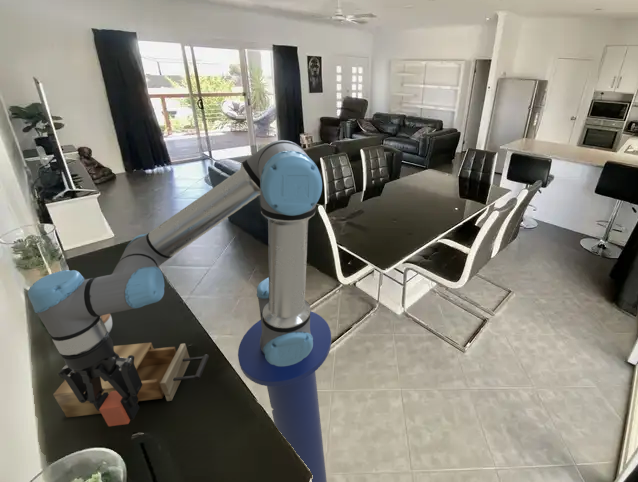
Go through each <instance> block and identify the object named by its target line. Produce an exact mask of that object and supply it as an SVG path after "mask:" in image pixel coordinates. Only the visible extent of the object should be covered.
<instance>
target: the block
mask: <svg viewBox="0 0 638 482" xmlns="http://www.w3.org/2000/svg"><path fill="white" fill-rule="evenodd" d="M121 399H122V396H121V395H120V394H119V393H118V392H117V391H111V392H110V393H109V395H108V397H107V398H106V400H105V401H104V403H103V404H102V406H101V407H100V409H99V410H100V412H101V416H102V418H103V419H104V422H105V423H106V425H107V427H115V426H122V425H123V426H125V425H129V423H130V422H131V420H130V419H129V417H128V415H127V413H126V411H125V409H124V407H123V405H122V404H121V402H120V401H121Z"/></svg>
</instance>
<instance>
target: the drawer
mask: <svg viewBox="0 0 638 482" xmlns="http://www.w3.org/2000/svg"><path fill="white" fill-rule="evenodd" d="M209 358H210V356H209V354H203V356H195V357H194V356H193V357H190V355H189V351H188V349H187V345H186V343H184V342H183V343H180V344H179V346H178V348H177V349H176V346H168V347H159V348H158V347H157V348H154V349H149V350H148V352H147V354H146V355H145V357H144V358H143V360H142V362H141V363H140V365H139V366H138V368H137V372H138V375H139V377H140V380H141V382H142V387H141V389H140V390H139V392H138V394H137V397H138V401H139V402H143V401H144V402H145V401H151V400H160V399H163V398H165V400H166V402H170V401H173V399H174V396H175V395H176V392H177V390H178V388H179V386H180V384H181V382H182V381H186V380H195V381H199V380H201V377H202V375H203V372H204V370H205V368H206V365H207V363H208V360H209ZM191 361H192V362H194V361H200V363H199V365H198V367H197V370H196V372H195V374H194V375H186V376H185V373H186V371H187V369H188V367H189V364H190V362H191ZM164 396H165V397H164Z"/></svg>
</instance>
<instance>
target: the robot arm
mask: <svg viewBox="0 0 638 482" xmlns="http://www.w3.org/2000/svg"><path fill="white" fill-rule="evenodd" d="M322 191H323V179H322V175H321V172H320V170H319V168H318V166H317V164H316V163H315V161H314V160H312V158H310V156H308V154H307V152H306V151H305V150H304V149H303V147H301V146H300V145H299V144H297V143H296V142H293V141H290V140H284V139H281V140H274V141H272V142H270V143H268V144H266V145H264V146H263V147H261V148H260V149H259V150H257V151H256V152H255V153H253V154H252V155H250V156H249V157H248V158H246V159H245V160H243V161H242V162H241V163H240V166H239V169H238V170H237V171H235V172H234V173H232V174H231V175H230V176H229V177H227V178H225V179H224V180H222V181H221V182H220V183H218V184H217V185H215V186H214V187H212V188H211V189H209V190H208V191H207V192H206V193H204V194H203V195H201V196H200V197H198V198H197V199H196V200H194V201H193V202H191V203H189V204H188V205H187V206H185V207H184V208H183V209H181V210H180V211H178V212H176V213H175V214H174V215H172V216H171V217H169V218H168V219H167V220H165V221H164V222H162V223H161V224H159V225H158V226H156V227H155V228H154V229H152V230H151V231H149V232H148V233H142V234H138V235H136V236H134V237H133V238H132V239H131V241H130V242H129V243H128V244H127V245H126V247H125V248H124V251H123V252H122V255H121V257H120V259H119V260H118V262H117V264H116V266H115V268H114V269H113V271H112V273H111V274H107V275H101V276H97V277H90V278H85V277H84V276H83V275H82V274H81V273H80V272H79V271H78V270H75V269H72V270H69V269H63V270H59V271H55V272H53V273H52V272H51V273H49V274H47V275H45V276H43V277H41V278H39V279H38V280H36V281H35V282H33V283H32V285H31V286H30V287H29V289H27V296H28V299H29V301H30V303H31V305H32V308H33V311H34V313H35V314H36V315H37V317H38V319H40V320H41V323H42V324H43V325H44V328H45V329H46V330H47V333H48V335H49V336H50V338H51V340H52V342H53V345H54V346H55V347H56V349H57V351H58V353H59V354H60V356H61V358H62V359H63V361H64V363H65V365H64V366H63V367H62V368H61V370H60V371H59V372H58V373H57V374H58V376H59V377H61V378H62V379H63V380H64V381H65V380H66V382H67V383H68V385H69V386H70V388H71V389H72V391H73V392H74V394H75V395H76V397H77V399H78V400H79V402H81V403H85V402H86V401H89V402H90V403H92V404H94V406H95V408H96V410H98V411H100V410H99V409H100V407H101V406H102V404H103V403H104V401H105V400H106V398H107V397H108V395H109V394H108V392H105V393H103V391H104V390H105V388H102V385H101V379H100V377H101V378H102V379H103V380H104V381H108V382H109V383H110V384H111V385H112V386H113V388H114V389H115V390H116V391H117V392H118V393H119V394H120V395H121V396H122V399H121V401H120V402H121V404H122V405H123V407H124V409H125V411H126V413H127V415H128V417H129V419H130V421H132V420H134V419H135V417H136V415H137V414H138V412H139V411H140V406H139V402H138V403H137V401H138V397H137V394H138V392H139V390H140V389H141V387H142V382H141V380H140V377H139V375H138V372H137V370H136V367H135V365H134V356H132V355H129V356H128V358H121V357H119V355H118V354H117V353H115V352H114V346H115V344H114V341H113V339H112V337H111V334H110V332H109V333H108V331H107V329H106V327H105V325H104V323H103V321H102V318H101V316H102V315H106V314H110V315H111V314H114V313H120V312H125V311H129V310H134V309H141V308H143V307H144V306H148V305H152V304H155V303H158V302H160V301H161V300H162V299H163V298H164V295H165V287H166V285H165V279H164V275H163V272H162V271H161V268H160V267H161V266H162V265H163V264H164V263H166V262H167V261H168V260H170V259H171V258H172V257H174V256H175V255H177V254H178V253H179V252H181V251H182V250H184V249H185V248H186V247H188V246H189V245H191V244H192V243H193V242H195V241H196V240H198V239H199V238H201V237H203V235H205V234H206V233H208V232H209V231H211V230H213V228H215V227H216V226H219V224H220V223H222V222H223V221H225V220H226V219H228V218H229V217H231V216H232V215H233V214H236V212H238V211H239V210H241V209H243V207H245V206H246V205H248V204H249V203H250V202H252V201H253V200H255V199H257V198H258V197H259V196H260V213H261V215H262V216H263V217H264V218H265V219H267V220H268V221H267V223H268V226H267V227H268V229H267V231H268V235H267V236H268V277H266V278H264V279H263V280H262V281H260V282H259V284H258V285H257V287H256V297H257V301H258V307H259V315H260V320H261V326H262V335H261V338H260V348H261V351H262V353H263V355H264V356H265V358H266V360H267V361H268V362H269V363H270V364H272V365H275V366H290V365H293V364H296V363H298V362H300V361H302V360H303V359H304V358H305V357H307V356H308V355H309V353H310V352H311V350H312V348H313V337H312V335H311V332H310V311H311V305H310V303H309V301H307V300H306V284H307V282H306V281H307V280H306V279H307V260H308V259H307V258H308V236H309V235H308V234H309V220H310V219H311V218H312V217H314V216H315V214H316V211H317V203H318V202H319V200H320V198H321V195H322ZM103 389H104V390H103ZM84 392H85V393H84ZM102 393H103V395H102Z"/></svg>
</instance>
